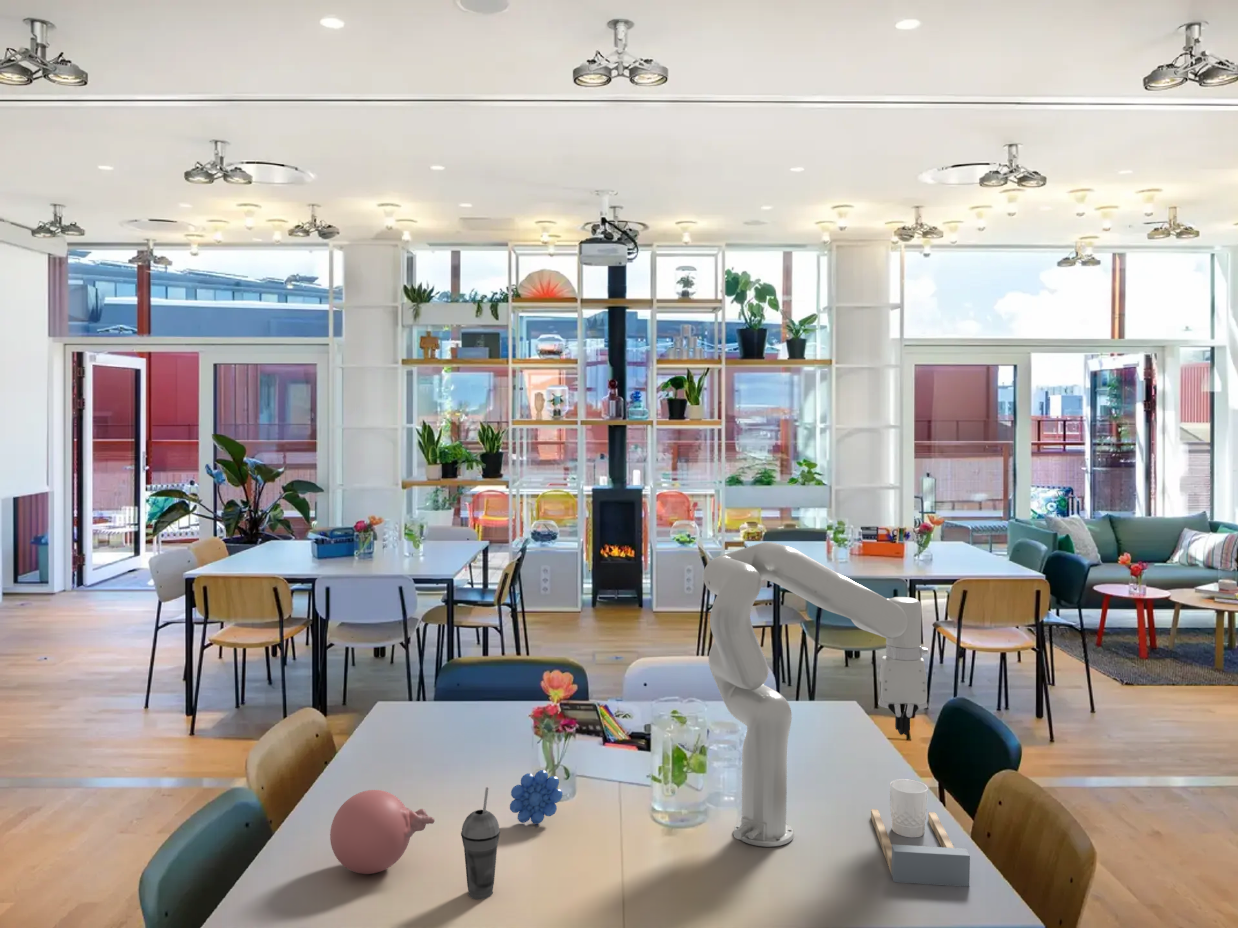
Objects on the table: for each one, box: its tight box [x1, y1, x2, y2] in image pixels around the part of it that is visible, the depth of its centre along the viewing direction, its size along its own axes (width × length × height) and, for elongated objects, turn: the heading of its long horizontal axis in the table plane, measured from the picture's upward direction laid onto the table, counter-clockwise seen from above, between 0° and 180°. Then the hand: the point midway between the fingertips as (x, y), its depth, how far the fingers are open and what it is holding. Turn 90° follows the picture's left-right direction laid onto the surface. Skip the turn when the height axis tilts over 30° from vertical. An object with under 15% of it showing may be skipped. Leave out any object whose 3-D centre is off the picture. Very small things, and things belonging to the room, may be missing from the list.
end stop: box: [890, 843, 971, 887], centre depth 180 cm, size 3×14×6 cm, turn 83°
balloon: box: [329, 789, 435, 875], centre depth 183 cm, size 15×20×15 cm
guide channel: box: [870, 808, 955, 873], centre depth 195 cm, size 27×14×2 cm, turn 173°
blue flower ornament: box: [509, 769, 564, 825], centre depth 206 cm, size 12×7×12 cm, turn 89°
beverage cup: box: [460, 787, 501, 900], centre depth 174 cm, size 7×7×20 cm
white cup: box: [889, 778, 929, 838], centre depth 202 cm, size 8×8×10 cm
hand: (902, 732), depth 210 cm, fingers closed
